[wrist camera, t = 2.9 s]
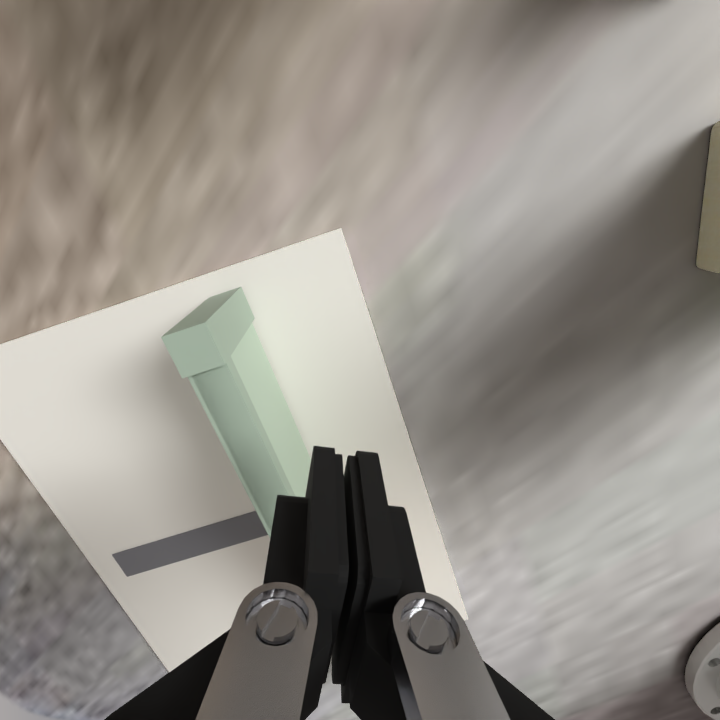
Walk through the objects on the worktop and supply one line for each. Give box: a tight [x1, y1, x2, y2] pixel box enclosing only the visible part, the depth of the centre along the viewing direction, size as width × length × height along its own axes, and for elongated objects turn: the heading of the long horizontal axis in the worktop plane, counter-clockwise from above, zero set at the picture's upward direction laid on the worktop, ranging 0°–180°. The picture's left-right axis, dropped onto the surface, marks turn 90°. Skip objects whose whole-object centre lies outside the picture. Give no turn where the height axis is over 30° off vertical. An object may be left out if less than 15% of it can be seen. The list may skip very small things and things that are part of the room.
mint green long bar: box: [161, 287, 311, 537], centre depth 20 cm, size 12×2×6 cm, turn 18°
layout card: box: [0, 228, 468, 672], centre depth 25 cm, size 26×20×1 cm
